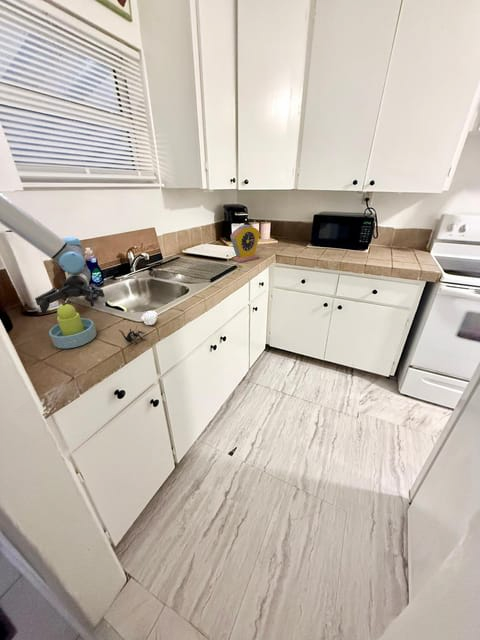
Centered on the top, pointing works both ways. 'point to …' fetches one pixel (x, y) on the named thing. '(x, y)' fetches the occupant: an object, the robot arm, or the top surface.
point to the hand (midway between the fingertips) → (67, 306)
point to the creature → (131, 335)
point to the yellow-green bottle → (69, 320)
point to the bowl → (75, 339)
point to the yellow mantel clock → (245, 243)
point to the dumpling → (149, 317)
